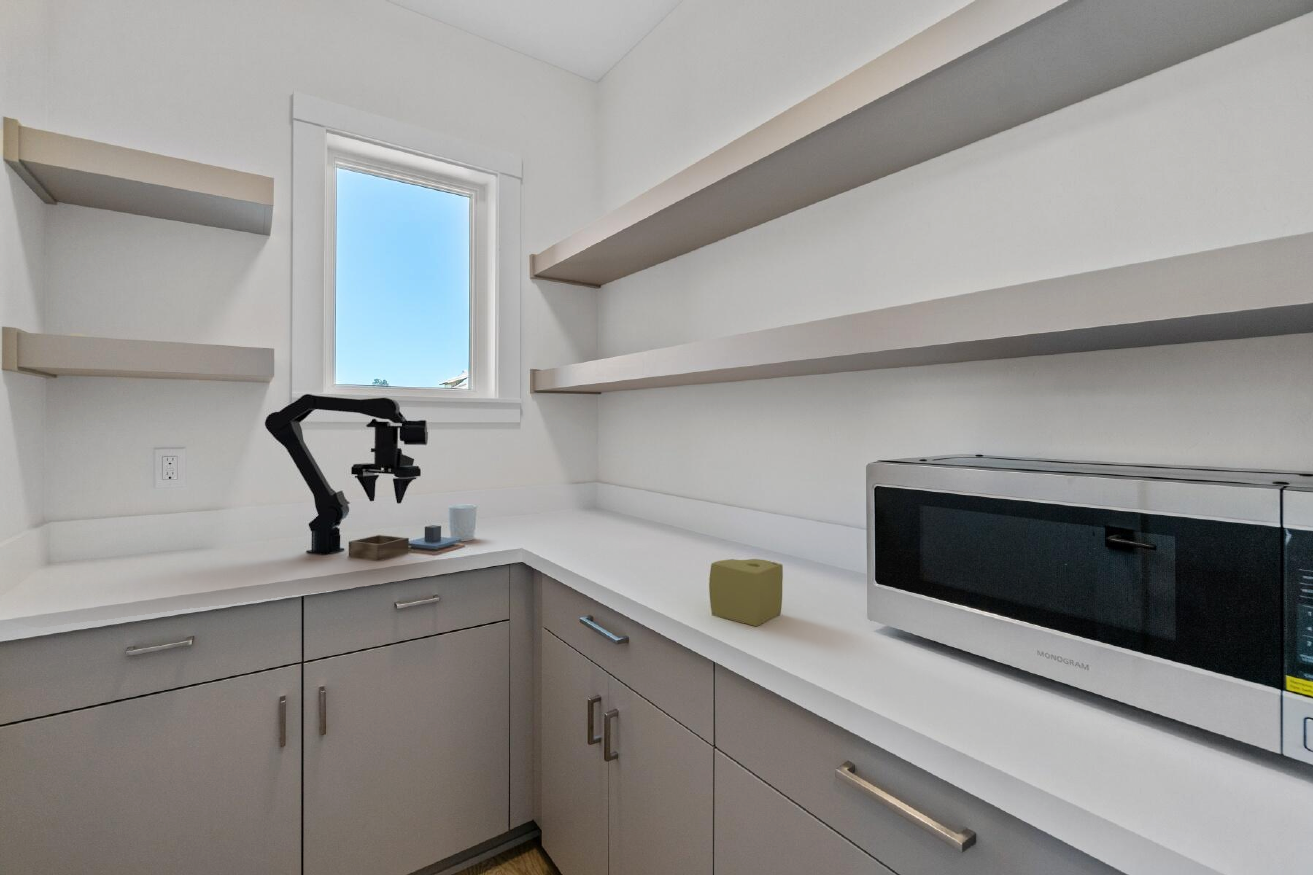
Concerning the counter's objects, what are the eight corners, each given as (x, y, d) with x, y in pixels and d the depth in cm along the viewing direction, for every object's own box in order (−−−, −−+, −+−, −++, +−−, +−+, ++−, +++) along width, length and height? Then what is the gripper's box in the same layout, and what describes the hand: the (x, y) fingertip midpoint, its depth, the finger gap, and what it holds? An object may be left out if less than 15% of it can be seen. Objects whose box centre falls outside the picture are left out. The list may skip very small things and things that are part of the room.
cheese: (736, 603, 118) (737, 554, 118) (785, 615, 111) (786, 563, 111) (707, 615, 110) (708, 562, 110) (757, 629, 103) (759, 573, 103)
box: (348, 557, 149) (348, 541, 148) (378, 549, 158) (379, 534, 158) (379, 560, 145) (379, 545, 145) (408, 552, 155) (408, 537, 155)
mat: (399, 550, 157) (399, 548, 157) (430, 542, 168) (430, 540, 168) (435, 555, 153) (435, 552, 153) (464, 546, 164) (464, 544, 164)
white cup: (470, 542, 170) (471, 508, 170) (444, 541, 170) (444, 507, 170) (479, 537, 178) (480, 504, 178) (454, 536, 178) (454, 504, 178)
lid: (403, 548, 157) (403, 527, 157) (430, 541, 167) (430, 521, 167) (435, 552, 154) (435, 531, 154) (461, 544, 164) (461, 524, 164)
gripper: (435, 444, 161) (434, 501, 162) (381, 442, 167) (381, 496, 168) (405, 446, 151) (404, 506, 151) (350, 443, 157) (349, 501, 157)
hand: (385, 502), depth 157 cm, fingers open, 9 cm apart
